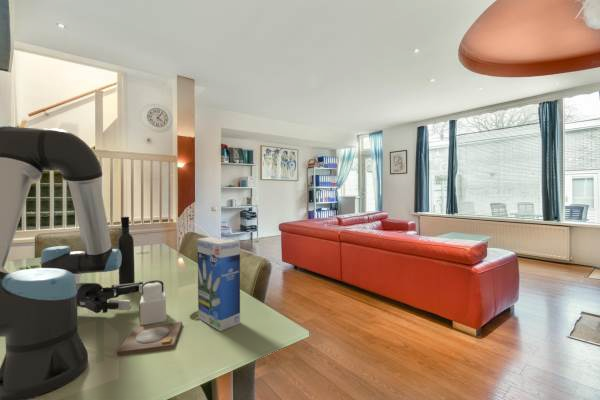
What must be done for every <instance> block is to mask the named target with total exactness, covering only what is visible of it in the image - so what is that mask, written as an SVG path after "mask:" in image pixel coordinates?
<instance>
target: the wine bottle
mask: <svg viewBox="0 0 600 400" xmlns="http://www.w3.org/2000/svg"><path fill="white" fill-rule="evenodd" d="M120 223H121V234H119V236H118V238H117V249H119V250H120V252H121V255H122V261H121V265H120V267H119V269H118V285H121V284H130V283H136V282H135V279H136V278H135V277H136V276H135V275H136V274H135V244H134V237H133V235H132V234H131V233H130V217H129V216H122V217H121V216H120Z"/></svg>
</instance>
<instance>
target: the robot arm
mask: <svg viewBox="0 0 600 400" xmlns="http://www.w3.org/2000/svg"><path fill="white" fill-rule="evenodd" d="M45 171H55V172H56V171H59V172H60V173H61V177H62V179H63V180H64V181H65V182H67V183H68V188H69V192H70V195H71V199H72V204H73V208H74V212H75V217H76V220H77V225H78V228H79V233H80V237H81V242H82V246H83V249H84V250H82V251H72V249H71V247H70V246H69V245H57V246H52V247H51V246H50V247H46V248H44V249H42V250H41V253H40V254H41V255H40V263H39V264H40V268H39V267H38V268H31V269H28V268H27V269H21V270H17V271H12V272H9V271H7V269H5V266H6V262H7V259H8V257H9V253H10V251H11V250H10V249H11V247H12V243H13V241H14V238H15V236H16V235H15V234H16V232H17V229H18V226H19V223H20V219H21V216H22V214H23V210H24V207H25V204H26V202H27V198H28V195H29V193H30V191H31V190H30V189H31V186H32V184H34V183H38V182H39V181H40V180H41V179H42V177H43V175H44V172H45ZM102 177H103V172H102V166H101V163H100V161H99V158H98V157H97V155H96V154H95V153H94V151H93V149H92V148H91V147H90V146H89V145H88V144H87V143H86V141H84V140H83V139H82V138H80V137H79V136H78V135H76V134H74V133H72V132H70V131H67V130H64V129H59V128H38V127H37V128H35V127H22V126H21V127H18V126H11V125H4V126H0V338H1V337H4V338H5V340H4V341H5V354H4V357H3V360H2V362H1V365H0V400H27V399H31V398H34V397H37V396H38V397H39V396H41V395H44V394H47V393H49V392H52V391H54V390H56V389H59V388H61V387H63V386H64V385H66V384H68V383H70V382H71V381H73V380H75V379H76V378H78V377H79V376H80V375H81V374H82V373H84V371H85V370H86V368H88V365H89V353H88V350H87V348H86V346H85V344H84V342H83V339H82V338H81V336H80V334H79V331H78V330H79V329H78V327H79V325H78V308H79V307H80V308H81V309H82V308H83V309H87V310H89V311H91V312H93V313H95V314H99V313H101V311H102V314H106V313H108V312H109V311H108V310H112V311H113V310H114V311H115V310H116V311H117V310H118V311H120V310H121V311H130V310H131V309H132V308H131V307H132V305H131V303H132V301H131V300H129V299H115V298H119V297H120V296H125V295H129V294H135V293H139V294H142V285H143V284H144V282H143V281H139V282H135V283H130V284H121V285H119V284H112V285H111V287H109V286H106V287H103V286H102V285H101V284H100V283H99V282H80V283H76V280H75V276H74V274H81V275H82V274H91V273H92V274H94V273H106V272H113V271H117V270H119V267H120V265H121V261H122V255H121V252H120V250H119V249H118V248H113V247H112V242H111V241H112V240H111V237H110V231H109V230H110V229H109V224H108V220H107V214H106V209H105V203H104V198H103V193H102V188H101V182H100V179H101V178H102Z"/></svg>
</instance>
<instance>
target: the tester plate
mask: <svg viewBox="0 0 600 400" xmlns="http://www.w3.org/2000/svg"><path fill="white" fill-rule="evenodd" d="M182 326H183V322H182V321H177V322H167V323H159V324H158V323H156V324H149V325H143V326H140V325H139V326H134V328H133V329H132V330H131V332H130V333H129V334H128V335H127V337H126V338H125V340H124V341H123V343H122V344H121V345H120V347H119V348H118V350H117V351H116V356H117V357H118V356H125V355H132V354H140V353H148V352H155V351H164V350H169V349H174V347H175V345H176V343H177V340H178V337H179V334H180V332H181V329H182Z"/></svg>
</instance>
